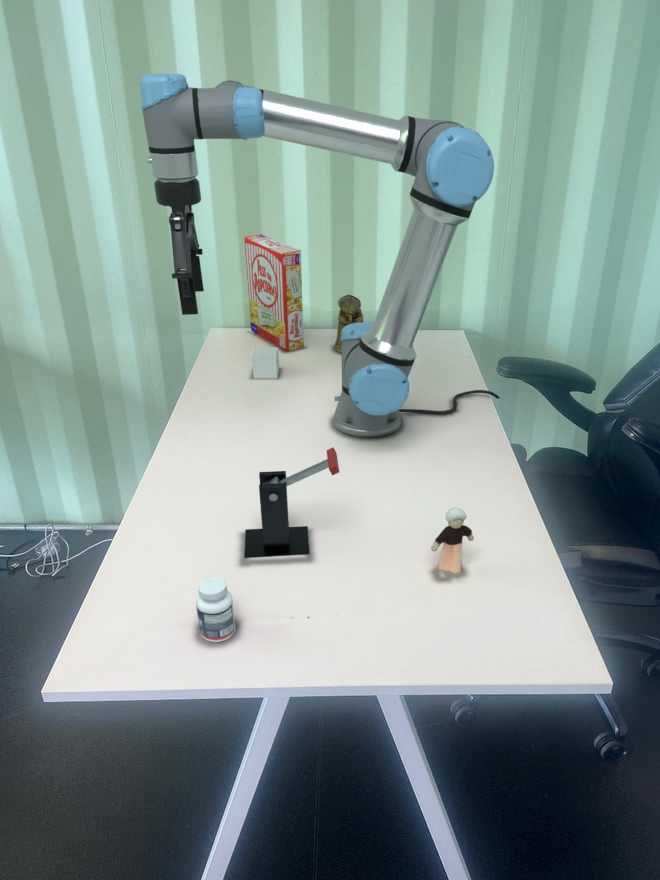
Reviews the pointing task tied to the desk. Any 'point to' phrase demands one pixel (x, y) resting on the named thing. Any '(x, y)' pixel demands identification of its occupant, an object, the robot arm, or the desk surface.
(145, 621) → the desk surface
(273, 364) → the pale blue cube
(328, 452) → the lever
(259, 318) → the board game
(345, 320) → the bronze figurine
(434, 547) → the grandmother figurine
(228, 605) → the pill bottle
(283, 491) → the bracket
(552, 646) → the desk surface
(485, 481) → the desk surface
